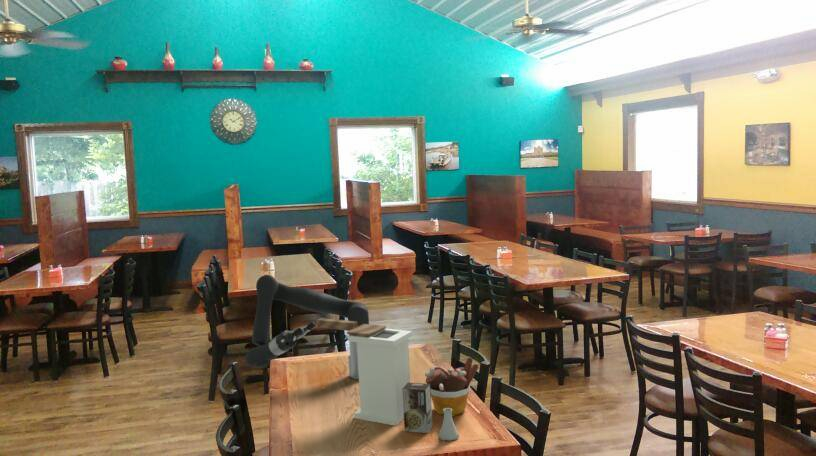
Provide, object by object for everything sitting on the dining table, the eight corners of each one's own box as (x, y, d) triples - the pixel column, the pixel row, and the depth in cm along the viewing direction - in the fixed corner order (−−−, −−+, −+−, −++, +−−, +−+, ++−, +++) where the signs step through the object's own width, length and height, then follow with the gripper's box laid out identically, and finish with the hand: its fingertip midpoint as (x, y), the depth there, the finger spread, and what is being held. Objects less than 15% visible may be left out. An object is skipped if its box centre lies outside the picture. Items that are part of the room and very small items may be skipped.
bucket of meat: (433, 422, 242) (431, 370, 240) (420, 406, 258) (418, 357, 256) (483, 414, 247) (482, 363, 245) (468, 399, 263) (466, 351, 261)
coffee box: (433, 426, 239) (431, 383, 237) (427, 433, 233) (426, 389, 231) (409, 423, 242) (407, 381, 240) (403, 431, 236) (401, 387, 234)
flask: (437, 433, 232) (436, 406, 231) (457, 432, 233) (456, 404, 232) (439, 442, 225) (438, 414, 224) (460, 440, 226) (459, 412, 225)
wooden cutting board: (310, 330, 255) (310, 322, 255) (328, 322, 266) (328, 315, 266) (369, 336, 243) (369, 328, 242) (385, 328, 253) (385, 320, 253)
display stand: (352, 417, 250) (347, 335, 246) (371, 404, 262) (367, 326, 258) (397, 426, 240) (393, 341, 236) (415, 412, 252) (412, 331, 249)
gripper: (297, 346, 277) (323, 330, 269) (275, 356, 264) (301, 339, 257) (289, 330, 278) (314, 314, 270) (266, 339, 265) (292, 323, 258)
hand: (308, 326), depth 263 cm, fingers open, 8 cm apart
